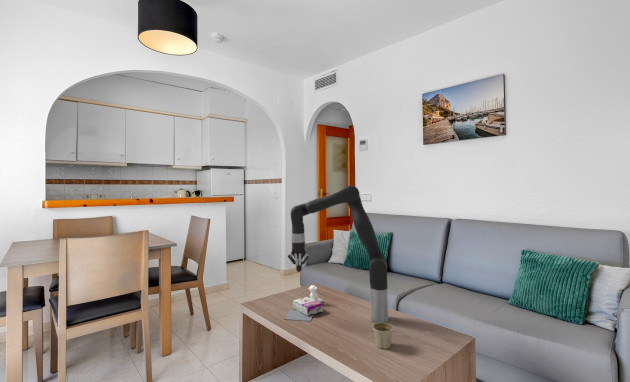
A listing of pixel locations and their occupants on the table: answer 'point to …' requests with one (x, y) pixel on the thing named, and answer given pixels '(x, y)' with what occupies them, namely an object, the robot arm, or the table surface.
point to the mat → (298, 316)
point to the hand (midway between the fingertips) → (299, 271)
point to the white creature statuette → (314, 293)
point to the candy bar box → (307, 306)
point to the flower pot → (383, 334)
